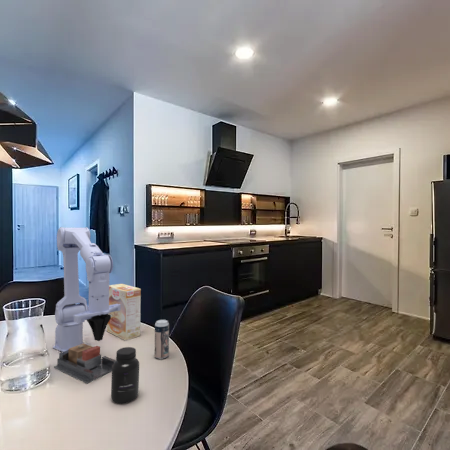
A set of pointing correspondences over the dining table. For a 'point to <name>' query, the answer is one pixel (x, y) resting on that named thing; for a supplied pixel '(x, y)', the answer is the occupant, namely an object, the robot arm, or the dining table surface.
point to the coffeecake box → (125, 311)
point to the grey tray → (82, 372)
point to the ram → (90, 358)
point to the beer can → (161, 339)
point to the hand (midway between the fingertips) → (98, 339)
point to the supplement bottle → (125, 376)
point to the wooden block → (77, 352)
